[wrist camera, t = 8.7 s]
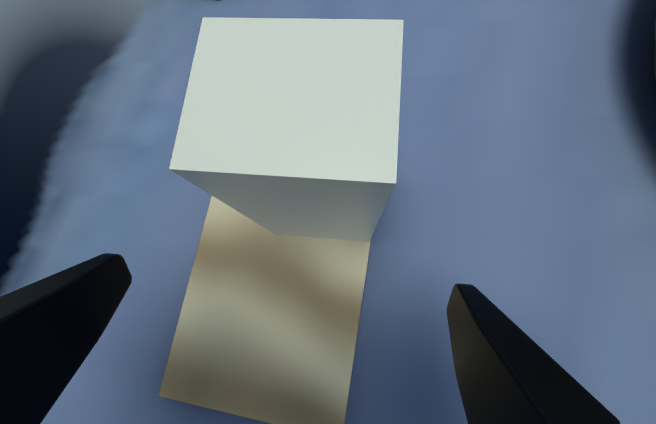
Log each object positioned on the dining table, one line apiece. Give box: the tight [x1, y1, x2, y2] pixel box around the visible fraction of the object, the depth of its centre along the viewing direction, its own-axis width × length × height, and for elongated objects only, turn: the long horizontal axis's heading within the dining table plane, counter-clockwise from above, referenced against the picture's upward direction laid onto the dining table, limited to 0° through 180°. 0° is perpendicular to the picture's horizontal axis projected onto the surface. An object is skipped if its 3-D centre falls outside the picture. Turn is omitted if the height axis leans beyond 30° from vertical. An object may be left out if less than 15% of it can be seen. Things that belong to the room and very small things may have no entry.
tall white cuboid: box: [169, 18, 403, 242], centre depth 13 cm, size 4×6×10 cm
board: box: [158, 196, 371, 424], centre depth 17 cm, size 14×10×1 cm
